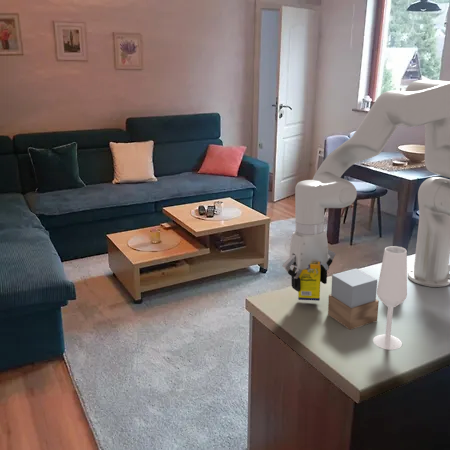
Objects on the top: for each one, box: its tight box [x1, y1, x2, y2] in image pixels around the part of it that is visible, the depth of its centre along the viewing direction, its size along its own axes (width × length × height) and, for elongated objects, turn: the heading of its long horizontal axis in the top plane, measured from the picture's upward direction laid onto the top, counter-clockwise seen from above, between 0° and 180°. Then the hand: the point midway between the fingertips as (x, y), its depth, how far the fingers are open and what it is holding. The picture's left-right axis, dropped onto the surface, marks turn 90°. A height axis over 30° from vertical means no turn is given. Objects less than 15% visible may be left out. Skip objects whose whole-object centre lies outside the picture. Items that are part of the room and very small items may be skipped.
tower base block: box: [327, 293, 380, 330], centre depth 129 cm, size 9×9×6 cm
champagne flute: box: [372, 245, 408, 351], centre depth 115 cm, size 7×7×24 cm
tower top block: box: [330, 268, 378, 308], centre depth 127 cm, size 8×8×6 cm
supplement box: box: [297, 262, 321, 302], centre depth 136 cm, size 6×6×11 cm
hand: (309, 285), depth 136 cm, fingers closed on supplement box, 8 cm apart
